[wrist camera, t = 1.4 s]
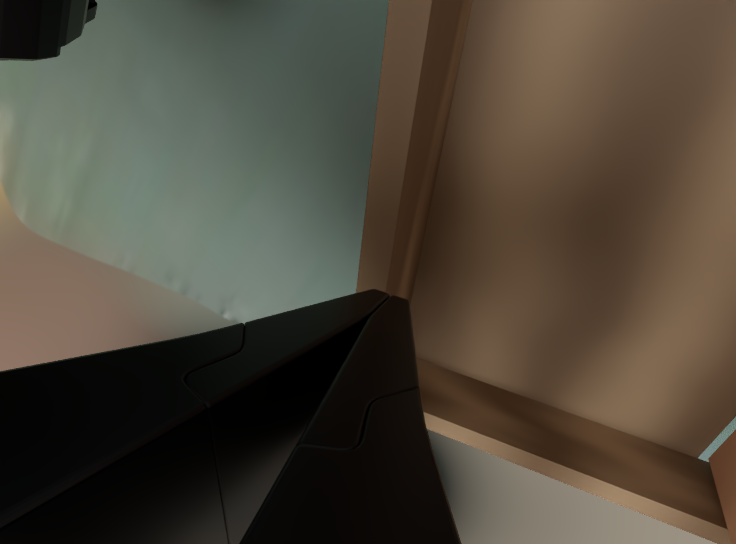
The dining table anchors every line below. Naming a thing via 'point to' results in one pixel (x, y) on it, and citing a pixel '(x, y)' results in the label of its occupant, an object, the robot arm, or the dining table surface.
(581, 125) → the wooden box tray
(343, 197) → the dining table surface
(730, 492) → the wooden panel
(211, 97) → the dining table surface
